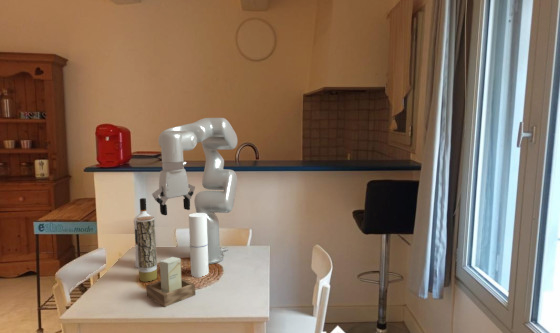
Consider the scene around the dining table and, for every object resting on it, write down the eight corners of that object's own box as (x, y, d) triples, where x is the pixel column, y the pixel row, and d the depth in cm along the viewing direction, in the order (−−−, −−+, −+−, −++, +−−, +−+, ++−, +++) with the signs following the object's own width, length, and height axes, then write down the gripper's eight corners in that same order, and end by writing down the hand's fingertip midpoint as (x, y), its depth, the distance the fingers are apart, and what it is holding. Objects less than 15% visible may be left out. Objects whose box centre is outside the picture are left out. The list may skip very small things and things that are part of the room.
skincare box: (169, 296, 140) (167, 263, 139) (160, 293, 143) (159, 261, 141) (182, 290, 145) (181, 258, 144) (174, 287, 148) (172, 256, 146)
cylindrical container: (193, 278, 159) (191, 217, 156) (189, 272, 165) (186, 214, 162) (210, 275, 162) (209, 215, 159) (205, 269, 169) (203, 212, 166)
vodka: (149, 270, 169) (145, 200, 165) (130, 268, 171) (126, 200, 168) (161, 262, 178) (158, 196, 174) (143, 260, 180) (139, 195, 176)
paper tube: (151, 283, 155) (148, 220, 152) (136, 282, 156) (132, 220, 153) (160, 276, 162) (157, 216, 159) (145, 275, 163) (142, 215, 160)
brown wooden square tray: (176, 285, 153) (176, 275, 152) (195, 294, 144) (194, 284, 144) (146, 296, 144) (146, 285, 143) (164, 306, 135) (164, 295, 135)
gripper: (187, 163, 154) (189, 206, 156) (146, 168, 141) (149, 215, 144) (198, 164, 148) (201, 209, 151) (156, 170, 136) (160, 218, 138)
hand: (175, 211), depth 147 cm, fingers open, 9 cm apart
